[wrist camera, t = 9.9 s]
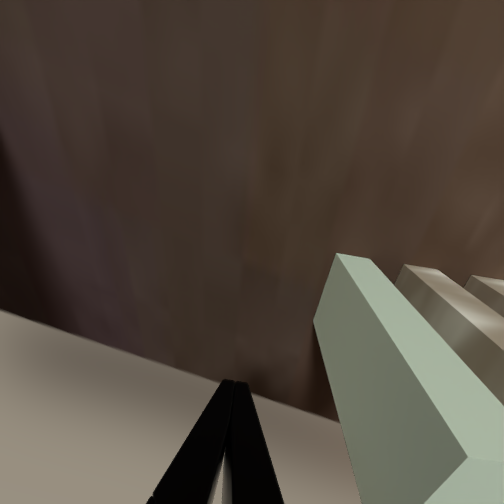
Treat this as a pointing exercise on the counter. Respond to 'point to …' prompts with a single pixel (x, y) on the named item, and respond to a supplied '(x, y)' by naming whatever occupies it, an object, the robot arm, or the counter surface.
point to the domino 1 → (459, 322)
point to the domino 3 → (487, 292)
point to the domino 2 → (405, 397)
